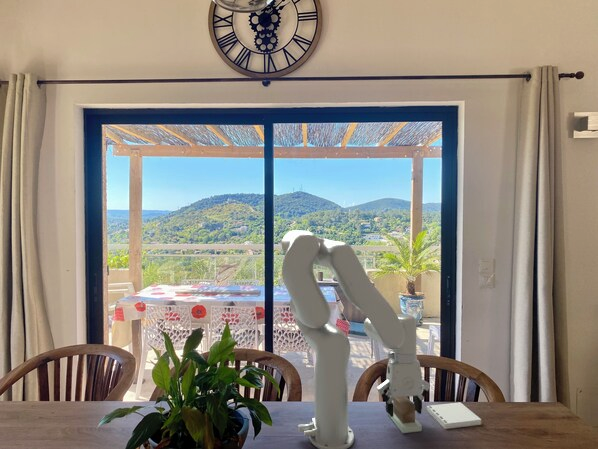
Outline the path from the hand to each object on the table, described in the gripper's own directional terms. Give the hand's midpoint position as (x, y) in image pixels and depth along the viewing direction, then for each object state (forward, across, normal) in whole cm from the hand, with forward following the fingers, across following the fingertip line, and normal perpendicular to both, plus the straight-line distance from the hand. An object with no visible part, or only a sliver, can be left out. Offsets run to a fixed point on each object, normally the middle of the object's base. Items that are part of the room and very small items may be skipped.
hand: (403, 412), depth 104 cm
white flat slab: (+3, +16, 0) cm, 17 cm away
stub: (+3, 0, 0) cm, 3 cm away
